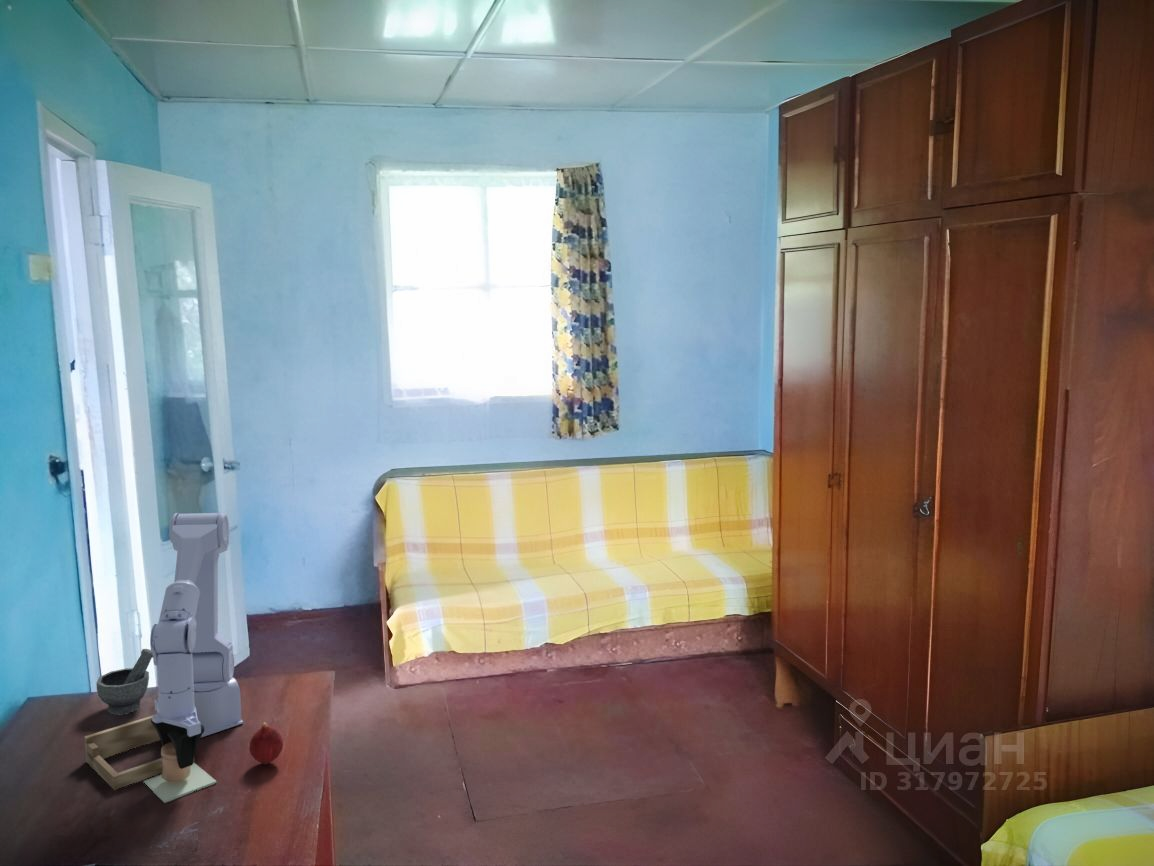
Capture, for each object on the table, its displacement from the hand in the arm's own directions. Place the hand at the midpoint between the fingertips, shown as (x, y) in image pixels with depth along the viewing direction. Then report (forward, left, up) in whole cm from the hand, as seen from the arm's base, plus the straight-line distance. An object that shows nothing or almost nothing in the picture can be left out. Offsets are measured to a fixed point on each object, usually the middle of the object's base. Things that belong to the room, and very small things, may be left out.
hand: (179, 760), depth 155 cm
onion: (-14, +4, -4) cm, 15 cm away
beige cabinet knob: (0, -1, -3) cm, 3 cm away
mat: (0, 0, -4) cm, 4 cm away
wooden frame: (+2, -13, -4) cm, 13 cm away
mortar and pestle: (-5, -38, -4) cm, 38 cm away
